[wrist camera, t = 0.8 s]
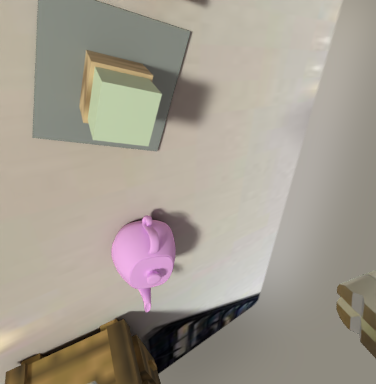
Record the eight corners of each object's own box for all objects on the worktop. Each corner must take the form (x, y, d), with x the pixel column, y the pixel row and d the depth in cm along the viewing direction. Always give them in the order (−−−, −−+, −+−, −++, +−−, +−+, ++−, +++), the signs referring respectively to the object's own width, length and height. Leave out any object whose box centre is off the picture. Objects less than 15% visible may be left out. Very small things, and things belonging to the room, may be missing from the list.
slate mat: (38, -19, 35) (38, -18, 35) (189, 30, 44) (190, 31, 44) (32, 136, 45) (32, 137, 45) (156, 150, 54) (157, 151, 54)
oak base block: (86, 49, 41) (91, 61, 36) (142, 63, 44) (153, 75, 40) (79, 106, 45) (83, 122, 40) (131, 114, 48) (140, 130, 44)
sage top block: (94, 66, 37) (101, 81, 32) (148, 78, 40) (162, 94, 35) (87, 119, 40) (92, 140, 36) (137, 127, 43) (148, 146, 39)
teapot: (110, 209, 59) (121, 253, 50) (174, 203, 64) (194, 242, 55) (108, 276, 70) (117, 321, 61) (162, 266, 75) (178, 307, 66)
